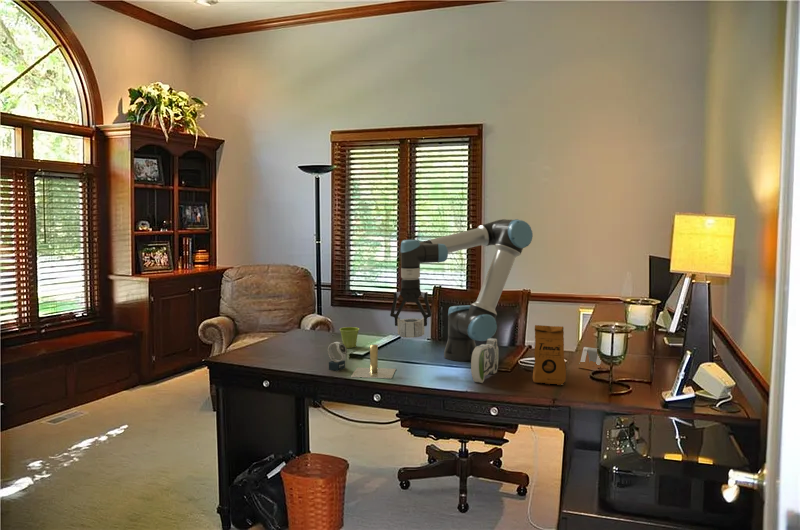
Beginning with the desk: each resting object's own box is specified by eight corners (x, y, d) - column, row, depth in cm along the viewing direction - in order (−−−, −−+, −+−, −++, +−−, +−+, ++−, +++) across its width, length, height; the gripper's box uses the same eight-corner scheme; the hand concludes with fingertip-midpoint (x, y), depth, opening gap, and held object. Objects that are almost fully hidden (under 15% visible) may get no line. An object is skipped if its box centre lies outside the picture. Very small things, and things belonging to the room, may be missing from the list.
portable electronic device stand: (577, 368, 260) (578, 348, 259) (586, 365, 265) (586, 345, 265) (597, 372, 254) (597, 352, 253) (605, 368, 260) (606, 349, 259)
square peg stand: (395, 369, 257) (396, 342, 256) (391, 378, 243) (391, 349, 242) (357, 368, 259) (357, 341, 258) (350, 377, 245) (350, 348, 244)
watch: (341, 371, 253) (341, 344, 252) (325, 369, 257) (325, 342, 256) (349, 368, 258) (349, 342, 257) (332, 366, 262) (332, 340, 261)
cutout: (492, 337, 256) (471, 343, 234) (499, 337, 255) (478, 344, 232) (491, 374, 256) (470, 384, 234) (497, 375, 255) (477, 385, 233)
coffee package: (564, 388, 231) (566, 329, 229) (530, 384, 236) (532, 326, 234) (567, 381, 241) (568, 324, 239) (534, 378, 245) (535, 322, 243)
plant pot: (358, 349, 294) (358, 330, 293) (338, 349, 294) (338, 330, 293) (360, 344, 303) (360, 327, 302) (340, 344, 303) (340, 327, 302)
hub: (423, 332, 257) (422, 318, 256) (421, 337, 248) (421, 322, 248) (401, 333, 258) (400, 318, 258) (398, 337, 249) (398, 322, 249)
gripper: (382, 279, 248) (382, 335, 251) (437, 279, 246) (437, 336, 248) (384, 277, 256) (385, 331, 258) (438, 277, 253) (438, 332, 255)
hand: (411, 334), depth 253 cm, fingers closed on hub, 9 cm apart
